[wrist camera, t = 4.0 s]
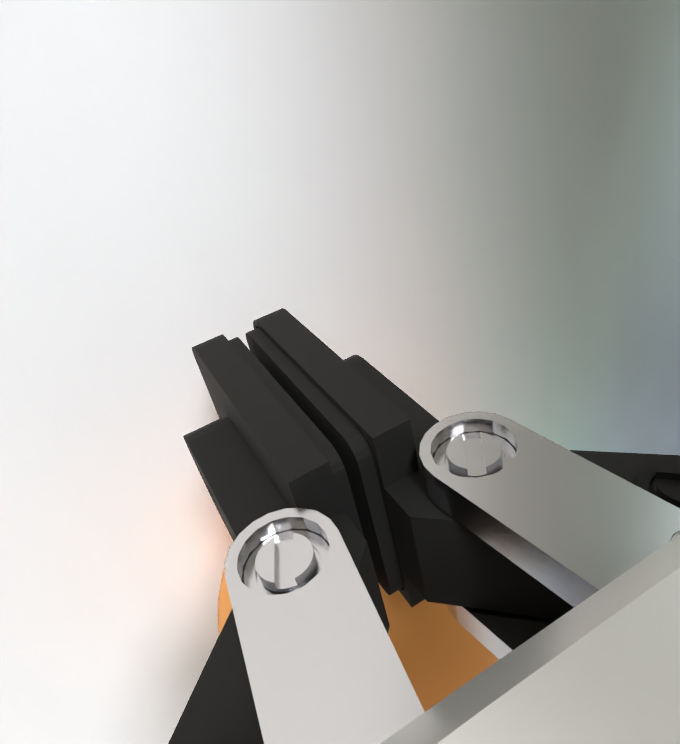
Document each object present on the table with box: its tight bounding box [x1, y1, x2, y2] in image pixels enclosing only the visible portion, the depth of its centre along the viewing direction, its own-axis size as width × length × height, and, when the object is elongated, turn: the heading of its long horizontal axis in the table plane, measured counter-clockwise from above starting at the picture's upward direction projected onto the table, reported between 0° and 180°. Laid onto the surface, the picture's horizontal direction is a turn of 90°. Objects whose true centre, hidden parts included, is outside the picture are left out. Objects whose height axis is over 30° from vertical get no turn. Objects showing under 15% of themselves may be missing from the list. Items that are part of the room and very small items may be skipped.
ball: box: [218, 568, 498, 712], centre depth 13 cm, size 6×6×6 cm
